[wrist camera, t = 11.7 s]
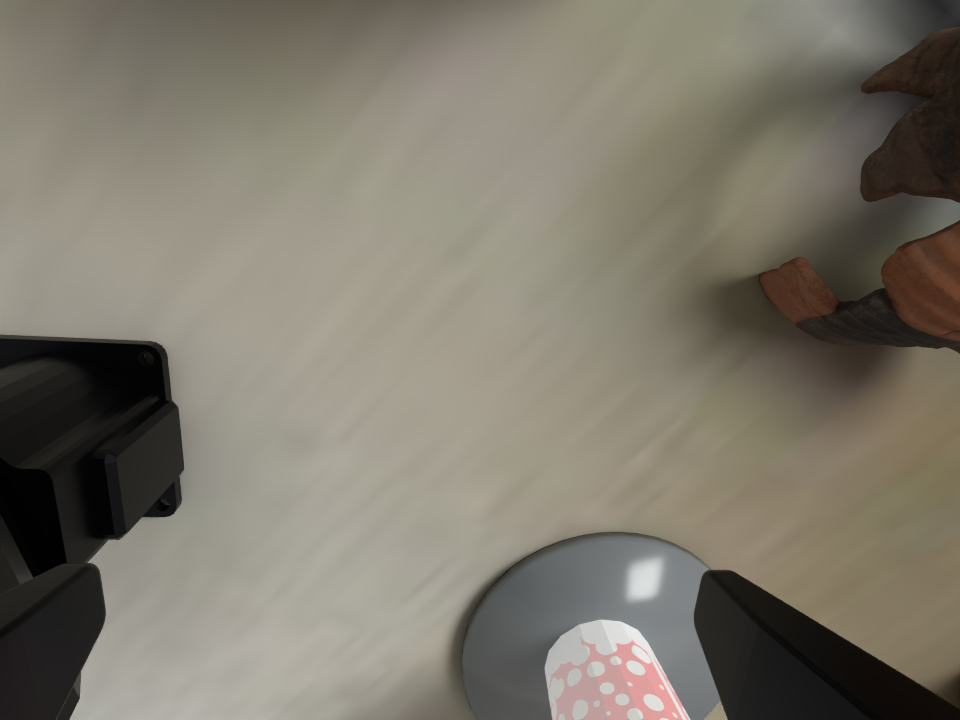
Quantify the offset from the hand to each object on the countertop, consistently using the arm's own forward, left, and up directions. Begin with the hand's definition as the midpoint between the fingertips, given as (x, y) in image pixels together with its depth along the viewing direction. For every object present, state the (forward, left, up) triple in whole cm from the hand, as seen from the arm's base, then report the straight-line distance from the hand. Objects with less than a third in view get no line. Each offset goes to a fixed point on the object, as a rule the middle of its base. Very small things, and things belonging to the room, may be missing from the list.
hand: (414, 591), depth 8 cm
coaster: (+8, -13, -12) cm, 19 cm away
